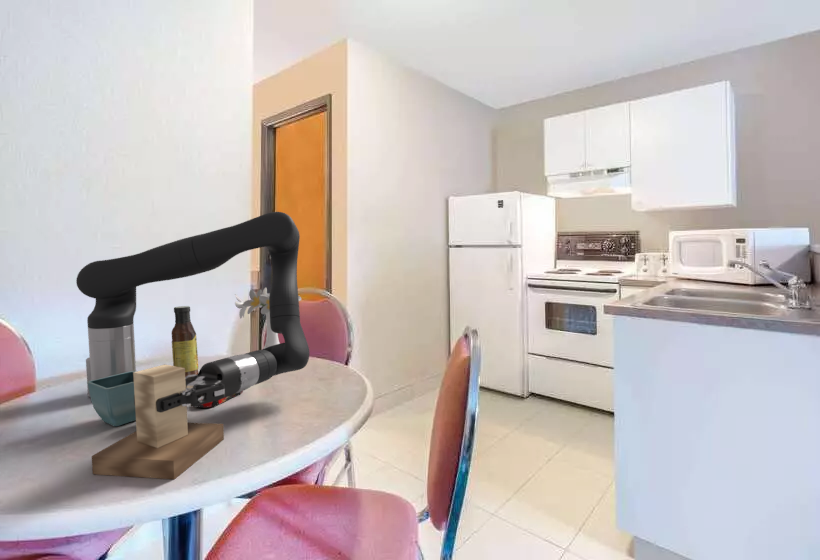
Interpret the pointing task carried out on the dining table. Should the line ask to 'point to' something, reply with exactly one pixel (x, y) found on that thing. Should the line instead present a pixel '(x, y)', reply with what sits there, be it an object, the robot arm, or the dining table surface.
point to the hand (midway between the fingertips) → (146, 403)
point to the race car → (215, 403)
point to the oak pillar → (147, 391)
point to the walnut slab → (157, 454)
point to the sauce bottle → (184, 341)
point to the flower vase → (259, 302)
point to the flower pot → (114, 398)
